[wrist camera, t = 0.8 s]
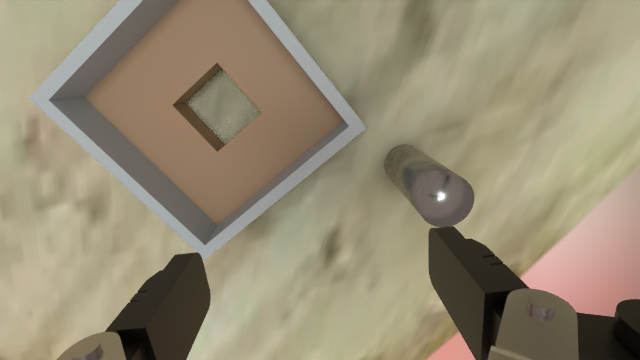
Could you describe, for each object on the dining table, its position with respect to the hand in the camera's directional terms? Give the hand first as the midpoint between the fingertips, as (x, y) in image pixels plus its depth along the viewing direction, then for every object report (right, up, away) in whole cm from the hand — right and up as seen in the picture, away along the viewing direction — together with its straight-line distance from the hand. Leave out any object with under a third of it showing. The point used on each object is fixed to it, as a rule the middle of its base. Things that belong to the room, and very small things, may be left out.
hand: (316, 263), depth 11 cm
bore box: (-9, +10, +20) cm, 24 cm away
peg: (+9, +5, +22) cm, 24 cm away
